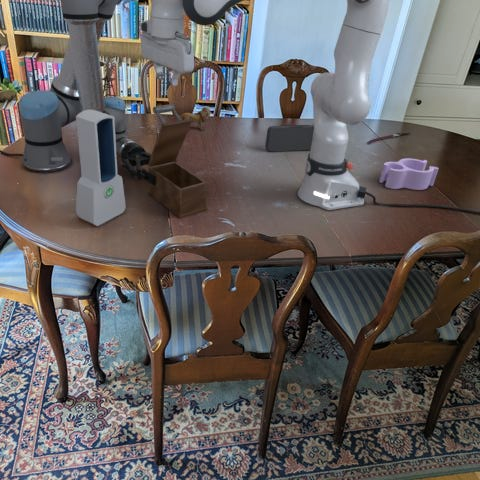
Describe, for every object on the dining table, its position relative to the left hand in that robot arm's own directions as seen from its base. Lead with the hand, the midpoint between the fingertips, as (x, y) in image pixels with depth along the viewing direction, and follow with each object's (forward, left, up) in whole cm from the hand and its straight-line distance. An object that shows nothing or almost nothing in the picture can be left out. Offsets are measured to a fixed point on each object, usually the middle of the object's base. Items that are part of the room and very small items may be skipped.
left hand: (168, 177), depth 145 cm
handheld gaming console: (+38, +53, -6) cm, 65 cm away
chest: (+4, -3, -6) cm, 8 cm away
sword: (+82, +83, -6) cm, 117 cm away
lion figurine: (-5, +63, -6) cm, 63 cm away
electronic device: (-15, -18, -6) cm, 24 cm away
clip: (+81, +35, -6) cm, 88 cm away
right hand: (-1, +1, +29) cm, 29 cm away
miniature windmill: (-37, +49, -6) cm, 62 cm away
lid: (+1, -1, +11) cm, 11 cm away
